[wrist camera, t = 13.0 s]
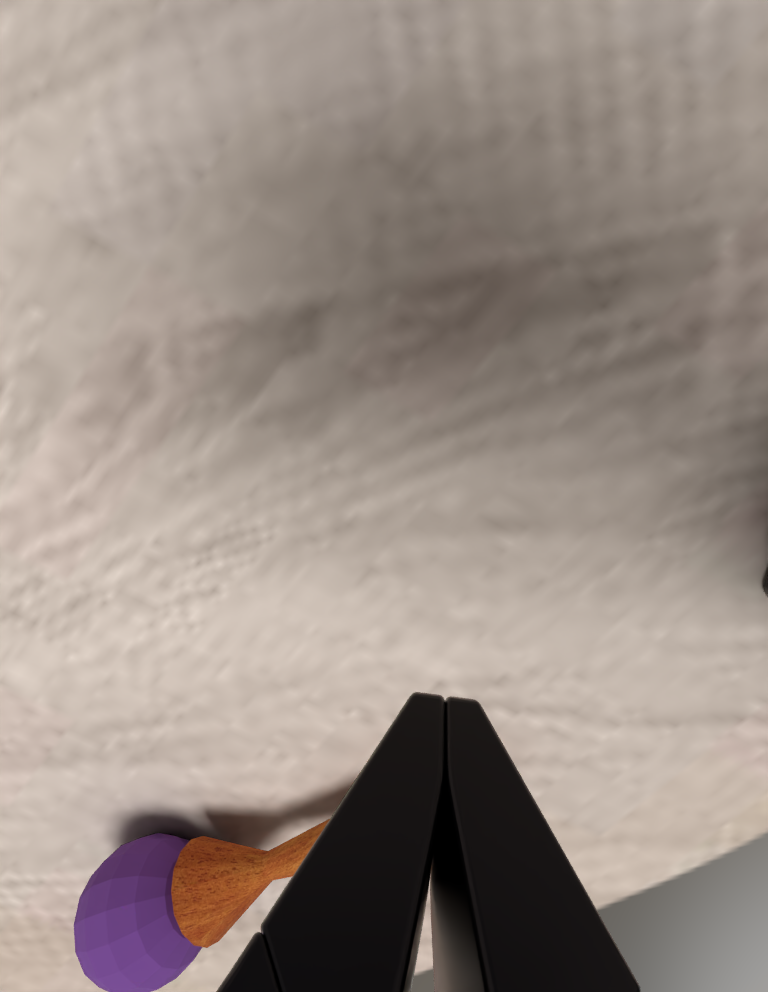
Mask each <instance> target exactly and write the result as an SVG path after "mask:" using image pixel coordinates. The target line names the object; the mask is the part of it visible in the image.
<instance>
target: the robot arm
mask: <svg viewBox="0 0 768 992" xmlns="http://www.w3.org/2000/svg"><path fill="white" fill-rule="evenodd" d="M764 592H765V594H766V596H767V597H768V575H767V578H766V581H765V584H764ZM430 873H431V879H430ZM429 880H430V898H431V926H432V947H433V969H434V988H435V989H434V990H435V992H640V991H641V990H640V986H639V984H638V983H637V981H636V979H635V977H634V975H633V974H632V972H631V970H630V968H629V967H628V965H627V963H626V961H625V959H624V958H623V956H622V954H621V952H620V951H619V949H618V947H617V946H616V944H615V942H614V940H613V938H612V936H611V935H610V933H609V931H608V929H607V928H606V926H605V924H604V922H603V921H602V919H601V917H600V916H599V913H598V912H597V910H596V908H595V906H594V905H593V903H592V901H591V899H590V898H589V896H588V894H587V892H586V890H585V889H584V887H583V885H582V883H581V882H580V880H579V878H578V876H577V875H576V873H575V871H574V869H573V867H572V866H571V864H570V862H569V860H568V859H567V857H566V855H565V853H564V852H563V850H562V848H561V846H560V844H559V843H558V841H557V839H556V837H555V836H554V834H553V832H552V830H551V829H550V827H549V825H548V823H547V821H546V820H545V818H544V816H543V814H542V813H541V811H540V809H539V807H538V806H537V804H536V802H535V800H534V798H533V797H532V795H531V793H530V791H529V790H528V788H527V786H526V784H525V783H524V781H523V779H522V777H521V775H520V774H519V772H518V770H517V768H516V767H515V765H514V763H513V761H512V760H511V758H510V756H509V754H508V752H507V751H506V749H505V747H504V745H503V744H502V742H501V740H500V738H499V737H498V735H497V733H496V731H495V729H494V728H493V726H492V724H491V722H490V721H489V719H488V717H487V715H486V714H485V712H484V710H483V708H482V707H481V705H480V703H479V702H478V701H476V700H473V699H466V698H458V697H448V698H447V699H446V700H444V698H443V697H442V696H441V695H435V694H428V693H420V692H415V693H413V694H412V695H411V696H410V697H409V699H408V700H407V702H406V703H405V705H404V706H403V708H402V709H401V711H400V712H399V714H398V716H397V717H396V719H395V720H394V722H393V723H392V725H391V726H390V728H389V729H388V731H387V732H386V734H385V735H384V737H383V739H382V740H381V742H380V743H379V745H378V746H377V748H376V749H375V751H374V752H373V754H372V755H371V757H370V759H369V760H368V762H367V763H366V765H365V766H364V768H363V769H362V771H361V772H360V774H359V775H358V777H357V778H356V780H355V782H354V783H353V785H352V786H351V788H350V789H349V791H348V792H347V794H346V795H345V797H344V798H343V800H342V801H341V803H340V805H339V806H338V808H337V809H336V811H335V812H334V814H333V815H332V817H331V818H330V820H329V821H328V823H327V824H326V826H325V828H324V829H323V831H322V832H321V834H320V835H319V837H318V838H317V840H316V841H315V843H314V844H313V846H312V847H311V849H310V851H309V852H308V854H307V855H306V857H305V858H304V860H303V861H302V863H301V864H300V866H299V867H298V869H297V871H296V872H295V874H294V875H293V877H292V878H291V880H290V881H289V883H288V884H287V886H286V887H285V889H284V890H283V892H282V894H281V895H280V897H279V898H278V900H277V901H276V903H275V904H274V906H273V907H272V909H271V910H270V912H269V913H268V915H267V917H266V918H265V920H264V921H263V923H262V924H261V933H260V932H257V933H255V934H254V936H253V937H252V939H251V940H250V942H249V943H248V945H247V946H246V948H245V950H244V951H243V953H242V954H241V956H240V957H239V959H238V960H237V962H236V963H235V965H234V966H233V968H232V969H231V971H230V972H229V974H228V975H227V977H226V978H225V980H224V981H223V983H222V984H221V985H220V987H219V988H218V990H217V991H216V992H411V988H412V983H413V977H414V971H415V965H416V960H417V954H418V948H419V942H420V937H421V931H422V925H423V919H424V914H425V907H426V901H427V894H428V887H429Z"/></svg>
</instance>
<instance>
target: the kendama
mask: <svg viewBox="0 0 768 992" xmlns="http://www.w3.org/2000/svg"><path fill="white" fill-rule="evenodd" d="M329 820H330V819H328V820H326V821H325V822H323V823H321V824H319V825H317V826H315V827H313V828H311V829H309V830H307V831H306V832H304V833H302V834H300V835H298V836H296V837H294V838H292V839H290V840H289V841H287V842H285V843H283V844H281V845H279V846H277V847H275V848H273V849H271V850H270V851H264V850H260V849H255V848H251V847H247V846H243V845H239V844H235V843H231V842H226V841H222V840H218V839H214V838H210V837H206V836H201V837H198V838H194V839H191V840H190V841H189V840H186V839H183V838H180V837H177V836H172V835H167V834H162V833H156V834H153V835H149V836H145V837H141V838H139V839H136V840H134V841H131V842H129V843H126V844H124V845H121V846H120V847H119V848H118V849H117V850H116V851H115V852H114V853H113V854H112V855H110V856H109V857H108V858H107V859H106V860H105V861H104V862H103V863H102V864H101V866H100V867H99V868H98V869H97V870H96V871H95V872H94V874H93V875H92V876H91V878H90V879H89V881H88V883H87V885H86V887H85V889H84V891H83V893H82V895H81V896H80V899H79V903H78V908H77V913H76V917H75V922H74V935H75V952H76V955H77V957H78V959H79V962H80V964H81V967H82V969H83V972H84V974H85V975H86V976H87V977H88V978H89V979H90V980H91V981H93V982H94V983H95V984H96V985H97V986H98V987H99V988H102V989H104V990H106V991H108V992H151V991H154V990H157V989H159V988H161V987H162V986H164V985H166V984H167V983H169V982H171V981H172V980H174V979H176V978H177V977H178V976H179V975H180V974H181V973H182V972H183V971H184V970H185V969H186V967H187V966H188V965H189V964H190V963H191V962H192V961H193V960H194V959H195V957H196V956H197V954H198V953H199V951H200V950H201V948H202V947H206V948H207V947H209V946H211V945H213V944H214V943H216V942H218V941H219V940H220V939H221V938H222V937H223V936H224V935H225V934H226V932H227V931H228V930H229V929H230V928H231V927H232V926H233V925H234V923H235V922H236V921H237V920H238V919H239V918H240V917H241V915H242V914H243V913H244V912H245V911H246V910H247V909H248V908H249V906H250V905H251V904H252V903H253V902H254V901H255V900H256V899H257V897H258V896H259V895H260V894H261V893H262V892H263V891H264V889H265V888H266V887H267V886H268V885H269V884H270V883H271V882H272V880H276V879H281V878H286V877H292V876H293V875H294V874H295V872H296V871H297V869H298V867H299V866H300V864H301V863H302V861H303V860H304V858H305V857H306V855H307V854H308V852H309V851H310V849H311V847H312V846H313V844H314V843H315V841H316V840H317V838H318V837H319V835H320V834H321V832H322V831H323V829H324V828H325V826H326V824H327V823H328V821H329Z"/></svg>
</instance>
